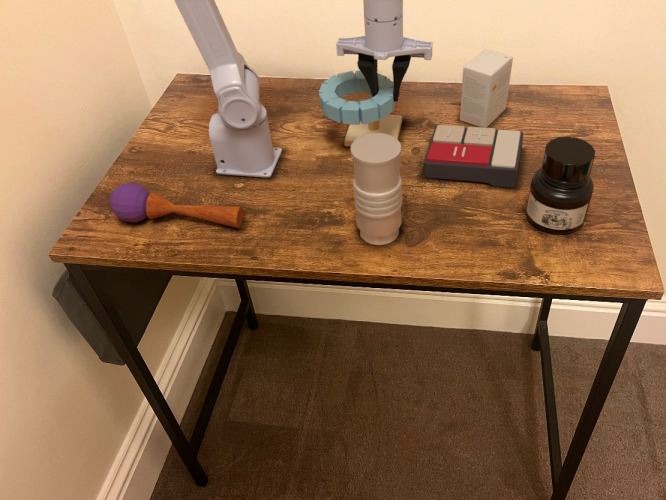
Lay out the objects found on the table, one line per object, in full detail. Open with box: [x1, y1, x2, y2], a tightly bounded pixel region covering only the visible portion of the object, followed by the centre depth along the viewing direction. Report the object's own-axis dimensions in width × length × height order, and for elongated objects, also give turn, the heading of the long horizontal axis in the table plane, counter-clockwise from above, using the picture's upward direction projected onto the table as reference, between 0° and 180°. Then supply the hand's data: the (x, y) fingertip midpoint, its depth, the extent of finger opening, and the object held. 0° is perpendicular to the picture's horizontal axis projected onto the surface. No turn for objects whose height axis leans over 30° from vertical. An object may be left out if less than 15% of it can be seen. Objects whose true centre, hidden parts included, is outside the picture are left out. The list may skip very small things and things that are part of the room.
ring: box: [318, 70, 396, 125], centre depth 101 cm, size 12×12×3 cm
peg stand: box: [343, 114, 403, 148], centre depth 109 cm, size 9×9×6 cm
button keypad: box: [423, 124, 524, 189], centre depth 103 cm, size 11×4×15 cm
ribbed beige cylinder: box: [350, 133, 403, 246], centre depth 88 cm, size 7×7×15 cm
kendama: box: [109, 182, 245, 229], centre depth 94 cm, size 6×6×20 cm
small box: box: [459, 48, 514, 128], centre depth 110 cm, size 8×6×10 cm
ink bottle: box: [525, 136, 596, 235], centre depth 90 cm, size 10×9×12 cm
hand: (385, 97), depth 100 cm, fingers closed on ring, 3 cm apart
